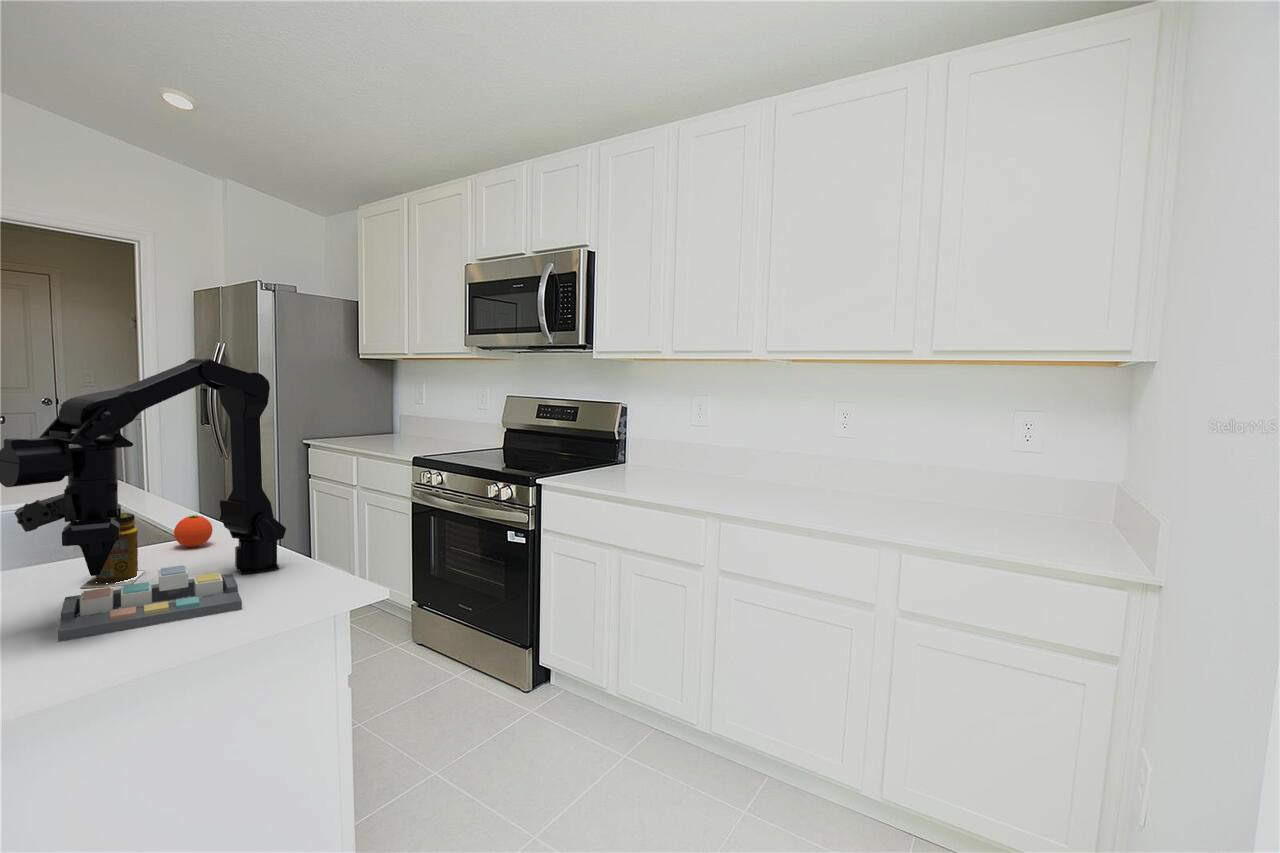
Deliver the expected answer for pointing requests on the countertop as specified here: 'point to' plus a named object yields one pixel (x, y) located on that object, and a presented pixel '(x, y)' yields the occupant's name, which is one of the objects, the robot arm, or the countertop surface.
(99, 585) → the condiment
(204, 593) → the key mustard
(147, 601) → the key teal
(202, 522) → the clementine
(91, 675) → the countertop surface
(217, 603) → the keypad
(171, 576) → the key slate
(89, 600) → the block
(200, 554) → the countertop surface
